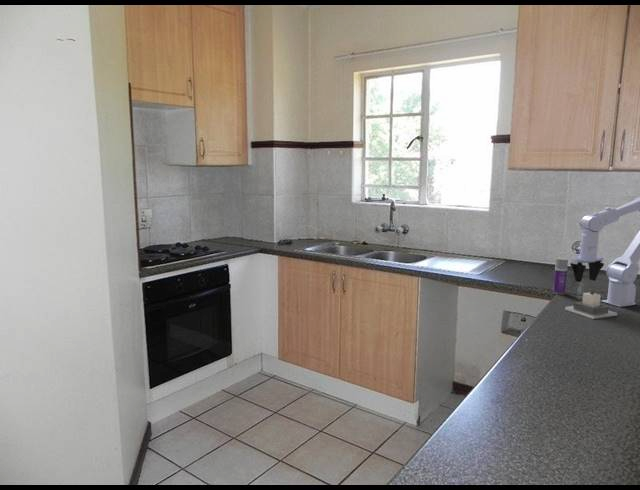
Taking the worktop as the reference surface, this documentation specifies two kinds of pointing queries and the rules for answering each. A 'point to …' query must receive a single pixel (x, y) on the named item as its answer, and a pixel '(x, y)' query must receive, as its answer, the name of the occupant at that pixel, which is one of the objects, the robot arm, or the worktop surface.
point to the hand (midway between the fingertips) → (585, 280)
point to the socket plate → (591, 310)
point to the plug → (591, 299)
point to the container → (560, 276)
